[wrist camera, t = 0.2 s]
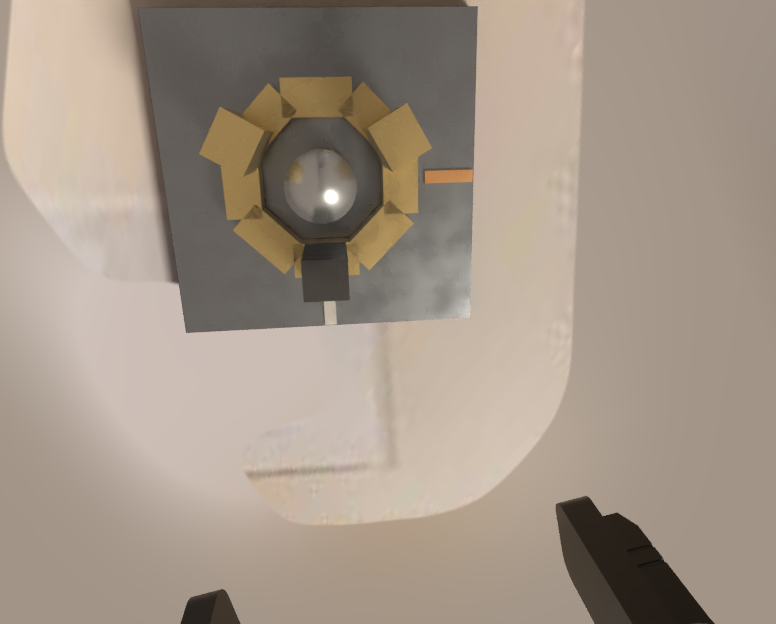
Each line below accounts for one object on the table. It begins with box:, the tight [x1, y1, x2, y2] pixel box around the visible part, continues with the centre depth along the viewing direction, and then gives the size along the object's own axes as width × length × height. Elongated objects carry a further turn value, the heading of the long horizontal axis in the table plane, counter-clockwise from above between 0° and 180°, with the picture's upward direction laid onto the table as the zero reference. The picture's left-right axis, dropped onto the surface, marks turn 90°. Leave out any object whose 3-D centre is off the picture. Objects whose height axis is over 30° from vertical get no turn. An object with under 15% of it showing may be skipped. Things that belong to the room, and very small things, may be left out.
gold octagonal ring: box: [199, 77, 432, 302], centre depth 32 cm, size 12×12×7 cm
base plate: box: [138, 6, 478, 333], centre depth 33 cm, size 20×20×7 cm
